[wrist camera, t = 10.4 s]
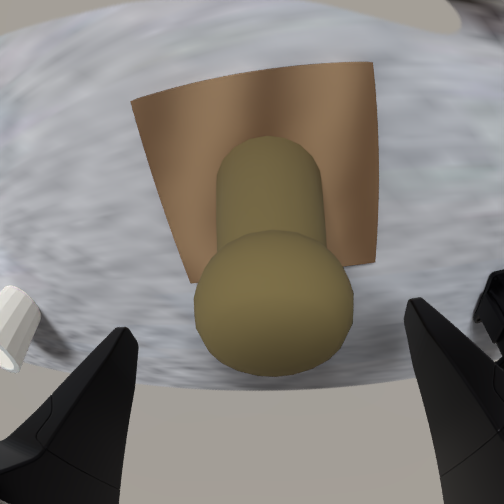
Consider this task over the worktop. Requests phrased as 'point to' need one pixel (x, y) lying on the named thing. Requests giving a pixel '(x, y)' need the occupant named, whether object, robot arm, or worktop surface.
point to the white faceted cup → (16, 327)
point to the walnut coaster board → (258, 125)
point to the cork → (272, 265)
